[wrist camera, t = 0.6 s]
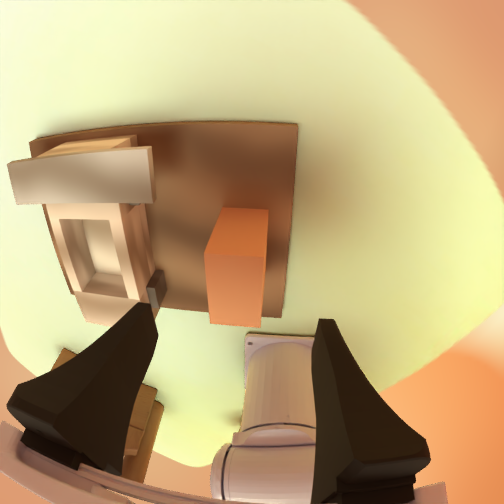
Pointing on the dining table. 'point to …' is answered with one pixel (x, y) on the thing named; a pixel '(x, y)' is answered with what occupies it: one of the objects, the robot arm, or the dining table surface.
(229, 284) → the orange upright block
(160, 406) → the wooden toy
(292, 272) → the dining table surface
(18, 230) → the dining table surface
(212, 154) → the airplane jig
